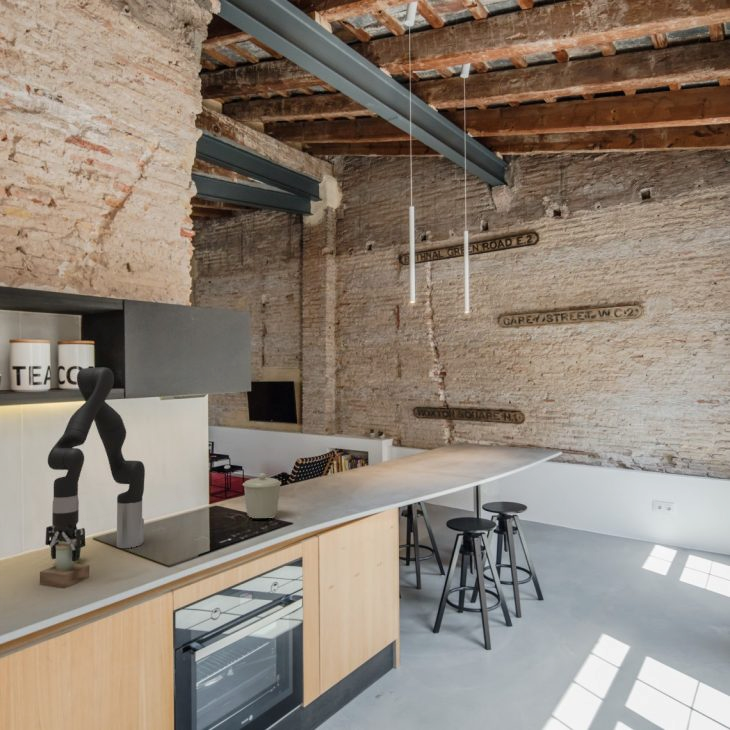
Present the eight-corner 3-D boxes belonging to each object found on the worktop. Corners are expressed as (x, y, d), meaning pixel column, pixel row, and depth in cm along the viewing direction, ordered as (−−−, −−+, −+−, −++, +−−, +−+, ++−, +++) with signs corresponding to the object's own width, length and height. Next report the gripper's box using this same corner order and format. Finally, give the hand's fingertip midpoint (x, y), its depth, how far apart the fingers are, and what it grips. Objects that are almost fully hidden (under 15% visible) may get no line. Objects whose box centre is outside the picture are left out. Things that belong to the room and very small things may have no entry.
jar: (65, 564, 182) (65, 541, 182) (78, 566, 180) (78, 542, 180) (51, 570, 177) (51, 545, 177) (64, 572, 175) (64, 547, 175)
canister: (254, 525, 246) (254, 478, 247) (235, 517, 260) (235, 473, 260) (288, 518, 258) (288, 473, 259) (268, 511, 272) (268, 468, 272)
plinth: (65, 574, 185) (65, 562, 185) (89, 577, 181) (89, 565, 182) (39, 584, 175) (39, 571, 175) (63, 588, 172) (64, 575, 172)
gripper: (91, 508, 180) (91, 558, 180) (58, 505, 185) (58, 554, 184) (73, 513, 173) (72, 565, 173) (38, 510, 178) (38, 561, 177)
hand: (65, 559), depth 178 cm, fingers open, 8 cm apart
